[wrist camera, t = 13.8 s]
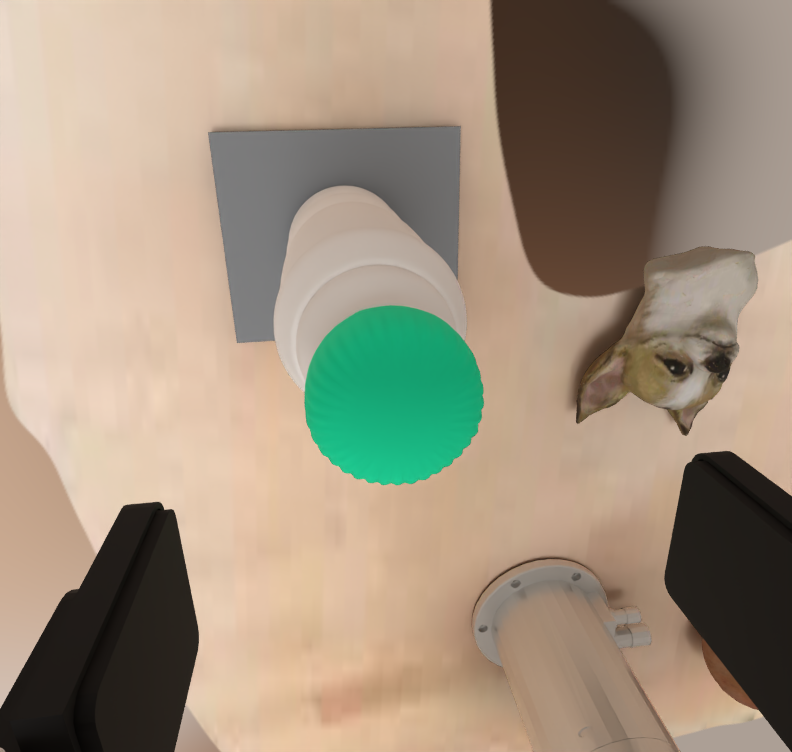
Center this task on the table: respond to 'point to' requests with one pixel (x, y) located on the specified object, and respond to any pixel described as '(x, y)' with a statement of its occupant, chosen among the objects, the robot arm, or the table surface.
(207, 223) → the table surface
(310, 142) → the slate mat
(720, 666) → the onion
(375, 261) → the water bottle
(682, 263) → the ceramic sculpture
